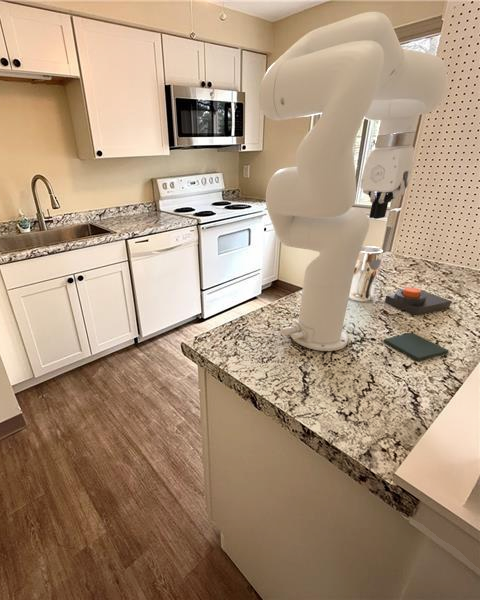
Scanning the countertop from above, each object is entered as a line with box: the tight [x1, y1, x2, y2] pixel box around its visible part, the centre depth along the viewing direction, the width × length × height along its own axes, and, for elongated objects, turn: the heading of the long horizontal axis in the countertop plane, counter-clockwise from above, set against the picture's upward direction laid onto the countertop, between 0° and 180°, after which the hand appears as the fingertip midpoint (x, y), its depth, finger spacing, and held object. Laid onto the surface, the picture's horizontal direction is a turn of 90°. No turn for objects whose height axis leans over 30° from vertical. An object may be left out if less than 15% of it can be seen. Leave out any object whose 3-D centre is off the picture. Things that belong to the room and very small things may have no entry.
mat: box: [383, 332, 449, 362], centre depth 70 cm, size 8×8×1 cm
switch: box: [402, 286, 422, 298], centre depth 84 cm, size 4×4×2 cm
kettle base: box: [384, 288, 452, 316], centre depth 86 cm, size 12×9×4 cm
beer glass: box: [349, 245, 384, 302], centre depth 91 cm, size 7×7×15 cm
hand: (376, 217), depth 84 cm, fingers closed
